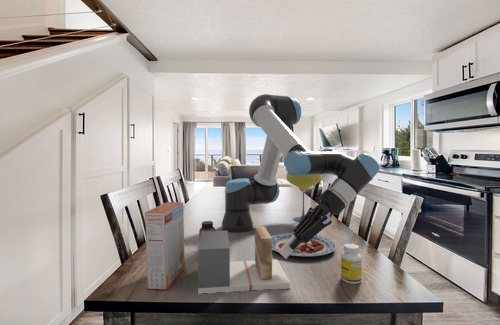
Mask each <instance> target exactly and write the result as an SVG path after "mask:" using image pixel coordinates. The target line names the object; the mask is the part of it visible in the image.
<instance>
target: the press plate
mask: <svg viewBox="0 0 500 325" xmlns="http://www.w3.org/2000/svg"><path fill="white" fill-rule="evenodd" d="M272 260H273V250H272V236H271V234H270V233H269V231H268V229H267V228H266V226H264V225H263V226H262V225H261V226H260V225H259V226H255V227H254V261H255V263H256V266H257V269H258V272H259V275H260V278H261V279H272Z"/></svg>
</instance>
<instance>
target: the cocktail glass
mask: <svg viewBox="0 0 500 325" xmlns="http://www.w3.org/2000/svg"><path fill="white" fill-rule="evenodd" d="M321 178H322V175H304V176H298V175H290V174H289V173H288V172H287V173H286V180H287V182H288V183H289V184H291V185H292V186H295V187H296V188H298V190H300V192H301V193H302V213H301V216H296V217H293V218H292V220H293V221H295V222H298V223H299V222H300V221H301V220H302V218H303V217H304V216H305V215H306V214H305V193H306V192H307V190H308V189H310V188H311V187H313V186H315V185H317V184H319V183H320V182H321V181H322V180H321Z"/></svg>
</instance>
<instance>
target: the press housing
mask: <svg viewBox="0 0 500 325" xmlns="http://www.w3.org/2000/svg"><path fill="white" fill-rule="evenodd" d="M230 248H231V247H230V240H229V231H225V230H216V231H202V233H201V237H200V242H198V248H197V279H198V280H197V284H198V286H197V287H198V288H197V290H198V295H202V294H201V293H208V294H217V293H216V292H225V293H234V292H233V291H241V292H250V291H249V290H257V291H264V290H263V289H273V290H287V288H290V289H291V282H290V280H289V278H288V276H287V274H286V273H285V271H284V269H283V267H282V266H281V264H280V262H279V260H278V259H272V279H261V278H260V275H259V272H258V269H257V266H256V263H255V260H239V261H237V260H236V261H231V260H230V257H231V256H230V254H231V250H230ZM230 291H232V292H230Z"/></svg>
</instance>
